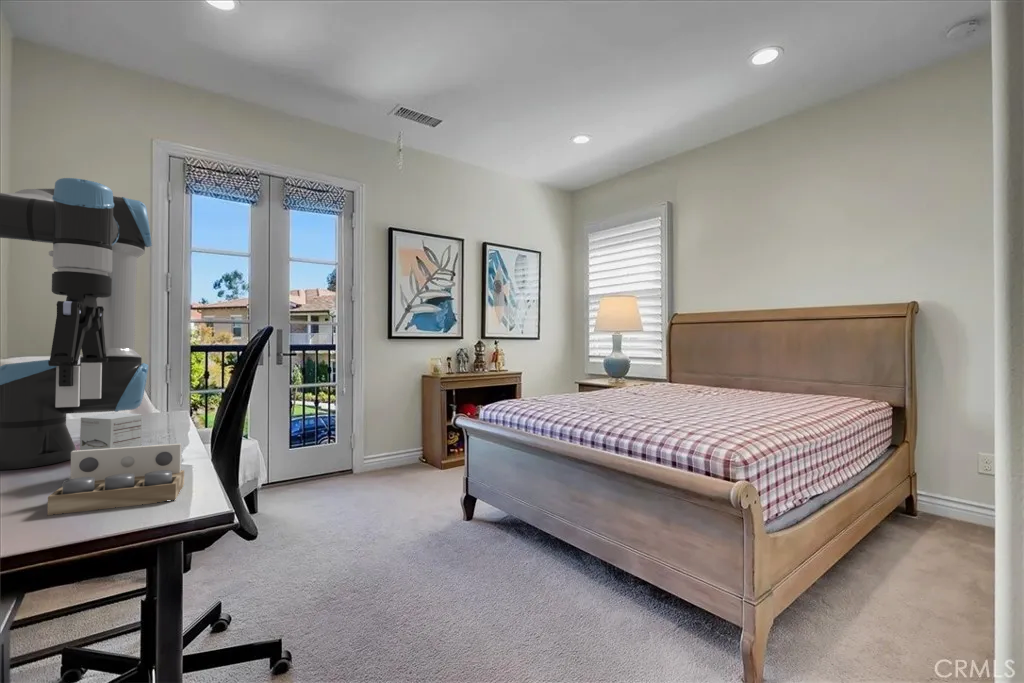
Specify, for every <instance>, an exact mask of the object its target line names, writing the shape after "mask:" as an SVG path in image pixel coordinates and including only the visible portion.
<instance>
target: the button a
mask: <svg viewBox="0 0 1024 683" xmlns="http://www.w3.org/2000/svg"><path fill="white" fill-rule="evenodd" d="M62 486H63V494H72V493H82V492H92V491H94V487H95V478H94V477H81V478H74V479H70V478H69V479H67V480H64V481H63V482H62Z"/></svg>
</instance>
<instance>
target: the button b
mask: <svg viewBox="0 0 1024 683" xmlns="http://www.w3.org/2000/svg"><path fill="white" fill-rule="evenodd" d="M134 479H135V475H134V474H130V473H127V474H117V475H112V476H109V477H106V478H105V490H112V489H122V488H132V487H134Z"/></svg>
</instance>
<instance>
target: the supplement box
mask: <svg viewBox="0 0 1024 683" xmlns="http://www.w3.org/2000/svg"><path fill="white" fill-rule="evenodd" d="M143 415H144V414H141V413H125V412H107V413H106V412H105V413H102V414H95V415H94V414H93V415H88V416H82V417H80V429H79V430H80V433H79V436H80V437H79V450H91V449H106V448H121V447H135V446H143V445H142V444H143V417H144V416H143Z"/></svg>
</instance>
